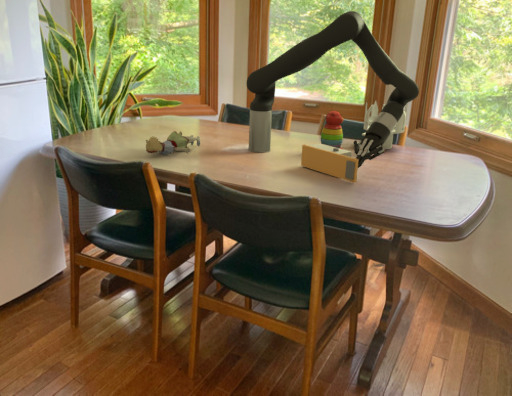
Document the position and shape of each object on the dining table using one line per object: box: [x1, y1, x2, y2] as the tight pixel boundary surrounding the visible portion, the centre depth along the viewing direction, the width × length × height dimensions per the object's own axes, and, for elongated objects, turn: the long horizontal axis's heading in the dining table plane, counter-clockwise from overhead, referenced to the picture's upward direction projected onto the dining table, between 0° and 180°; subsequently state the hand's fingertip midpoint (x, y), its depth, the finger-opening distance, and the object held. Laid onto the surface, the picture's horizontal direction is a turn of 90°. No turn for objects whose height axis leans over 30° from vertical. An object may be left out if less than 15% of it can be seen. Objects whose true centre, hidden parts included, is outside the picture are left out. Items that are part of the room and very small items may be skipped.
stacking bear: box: [320, 110, 345, 150], centre depth 197 cm, size 11×10×18 cm
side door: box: [300, 144, 359, 183], centre depth 165 cm, size 26×2×8 cm, turn 38°
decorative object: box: [361, 100, 408, 150], centre depth 206 cm, size 18×29×20 cm, turn 143°
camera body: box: [308, 142, 353, 173], centre depth 171 cm, size 17×8×9 cm, turn 38°
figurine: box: [145, 130, 201, 155], centre depth 191 cm, size 25×8×30 cm
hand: (355, 166), depth 161 cm, fingers closed
